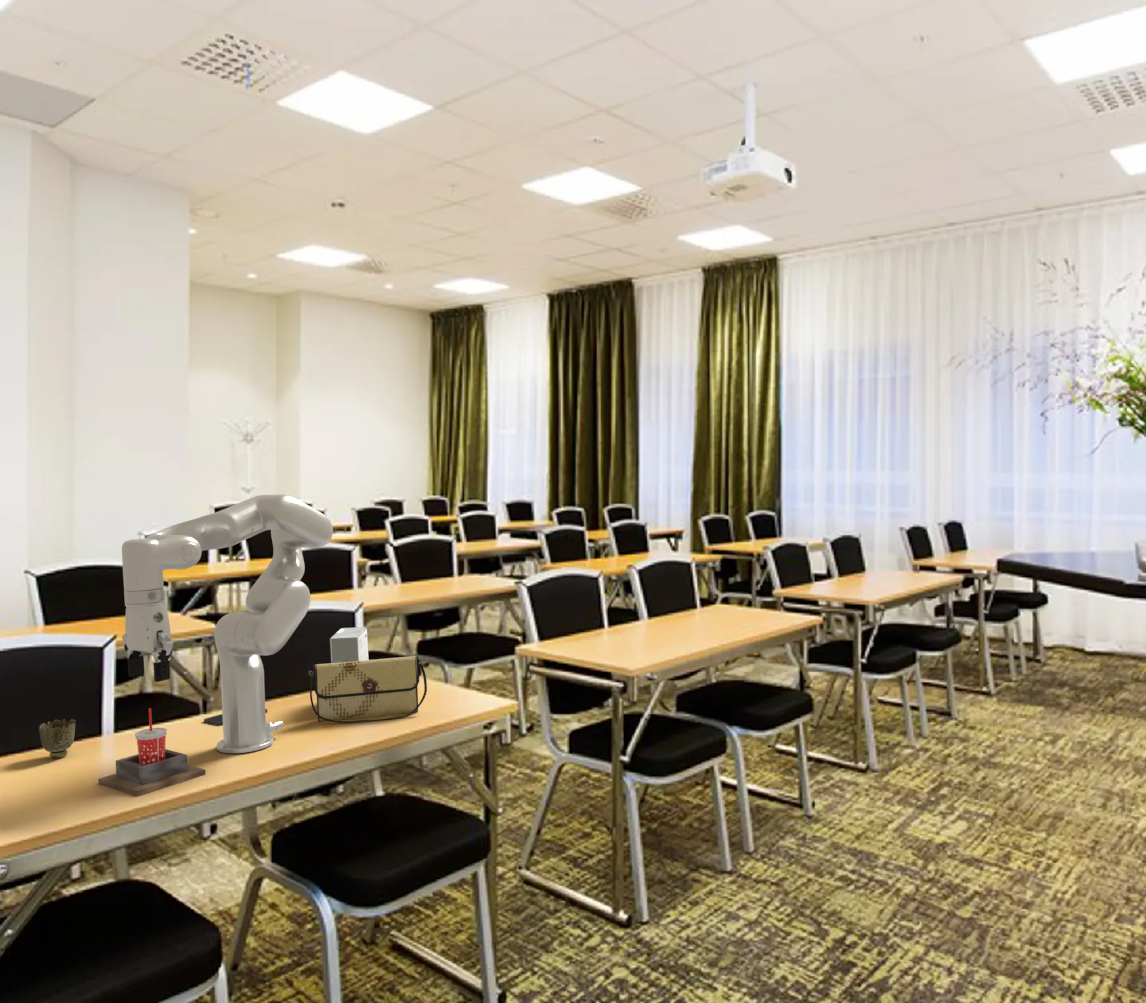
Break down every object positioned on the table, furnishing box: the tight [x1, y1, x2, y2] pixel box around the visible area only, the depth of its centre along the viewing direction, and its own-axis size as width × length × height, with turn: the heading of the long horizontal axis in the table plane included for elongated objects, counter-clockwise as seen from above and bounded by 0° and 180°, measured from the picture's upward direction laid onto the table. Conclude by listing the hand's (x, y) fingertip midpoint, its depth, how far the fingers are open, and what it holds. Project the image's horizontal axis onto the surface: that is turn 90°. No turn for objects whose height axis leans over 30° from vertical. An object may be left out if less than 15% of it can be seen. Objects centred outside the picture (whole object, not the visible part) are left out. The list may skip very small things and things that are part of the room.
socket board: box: [97, 748, 206, 797], centre depth 189 cm, size 15×15×4 cm
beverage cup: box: [134, 707, 168, 766], centre depth 189 cm, size 6×6×14 cm
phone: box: [203, 708, 268, 727], centre depth 237 cm, size 8×1×15 cm
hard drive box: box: [329, 626, 370, 663], centre depth 248 cm, size 16×8×20 cm, turn 3°
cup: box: [38, 718, 76, 760], centre depth 207 cm, size 8×7×8 cm
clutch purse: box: [308, 655, 428, 724], centre depth 232 cm, size 30×7×15 cm, turn 106°
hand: (149, 678), depth 189 cm, fingers open, 9 cm apart
